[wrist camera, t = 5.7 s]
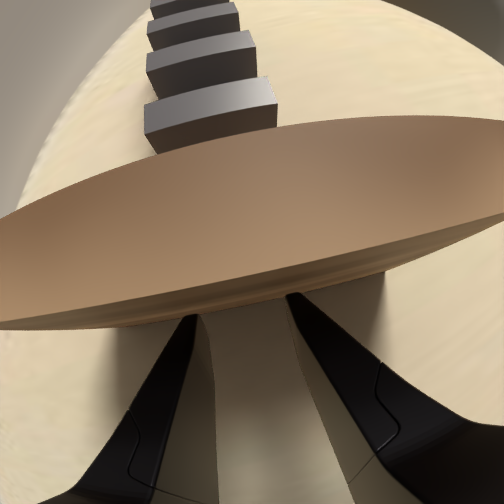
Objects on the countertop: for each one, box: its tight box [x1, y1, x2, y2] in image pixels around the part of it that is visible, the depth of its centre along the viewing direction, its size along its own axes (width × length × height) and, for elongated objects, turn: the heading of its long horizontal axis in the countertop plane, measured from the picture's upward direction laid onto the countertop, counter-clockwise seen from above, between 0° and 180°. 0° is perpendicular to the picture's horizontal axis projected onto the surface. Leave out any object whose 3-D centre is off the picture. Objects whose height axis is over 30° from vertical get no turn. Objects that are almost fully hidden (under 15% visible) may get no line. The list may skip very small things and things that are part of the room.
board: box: [0, 116, 504, 330], centre depth 10 cm, size 2×16×12 cm, turn 102°
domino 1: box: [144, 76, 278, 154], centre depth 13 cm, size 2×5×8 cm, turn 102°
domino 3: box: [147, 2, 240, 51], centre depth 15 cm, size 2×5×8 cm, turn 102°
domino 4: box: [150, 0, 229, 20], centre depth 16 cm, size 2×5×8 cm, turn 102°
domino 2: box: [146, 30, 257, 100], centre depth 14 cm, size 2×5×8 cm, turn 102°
